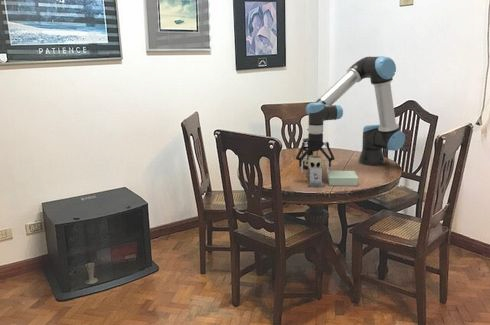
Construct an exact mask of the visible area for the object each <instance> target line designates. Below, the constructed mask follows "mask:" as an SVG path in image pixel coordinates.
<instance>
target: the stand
mask: <svg viewBox="0 0 490 325" xmlns="http://www.w3.org/2000/svg"><path fill="white" fill-rule="evenodd" d="M326 178H327V182H328V185H329V186H341V187H342V186H344V187H345V186H347V187H350V186H351V187H352V186H354V187H355V186H357V187H358V183H359V182H358V180H359V176H358V175H357V173H356V171H355V170H329V174H327V173H326Z"/></svg>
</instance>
